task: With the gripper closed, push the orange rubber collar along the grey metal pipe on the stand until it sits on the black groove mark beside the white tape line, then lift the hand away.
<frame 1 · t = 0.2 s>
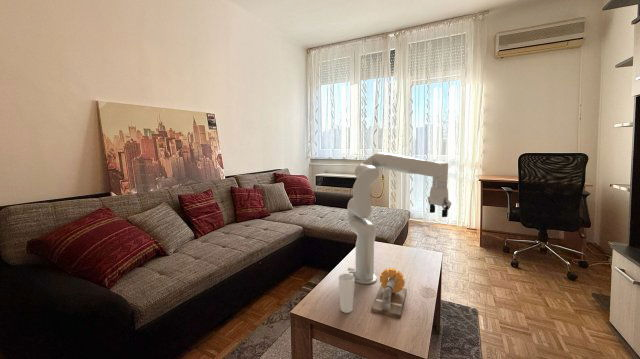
hand: (438, 214, 155), 31 cm above the table, tool pointing down, fingers open, 9 cm apart
collar: (392, 280, 129), point 8 cm above the table, slide at 0.0 cm
pipe stand: (389, 301, 126), on the table
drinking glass: (346, 310, 120), on the table
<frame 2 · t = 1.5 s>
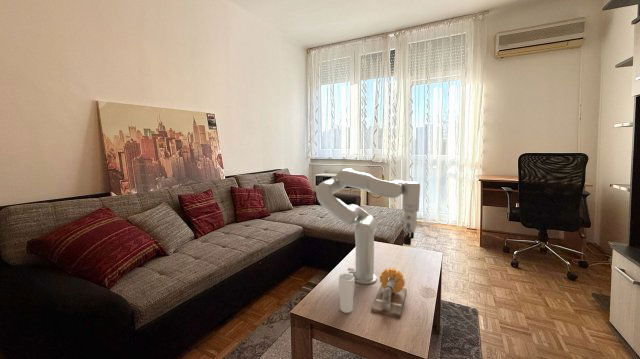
hand: (408, 241, 136), 23 cm above the table, tool pointing down, fingers open, 9 cm apart
nothing on the table moved.
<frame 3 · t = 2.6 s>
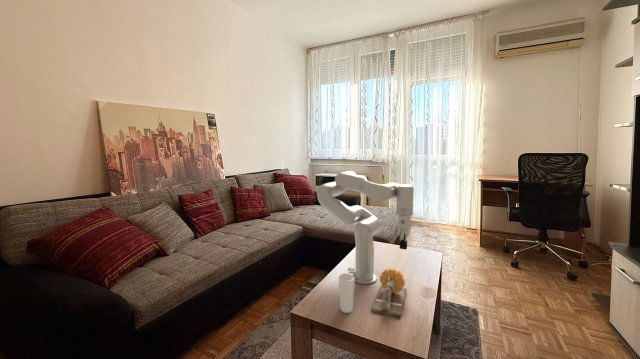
hand: (403, 248, 133), 21 cm above the table, tool pointing down, fingers closed
nothing on the table moved.
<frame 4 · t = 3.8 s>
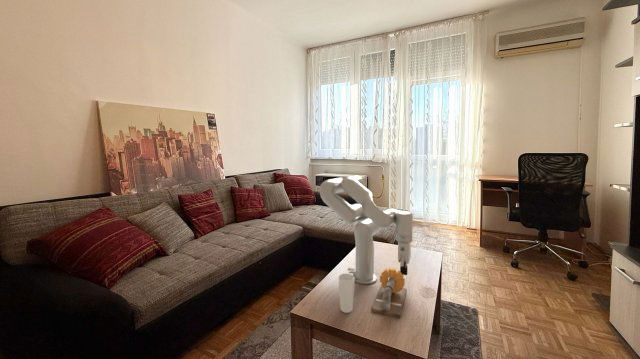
hand: (403, 274, 134), 8 cm above the table, tool pointing down, fingers closed
nothing on the table moved.
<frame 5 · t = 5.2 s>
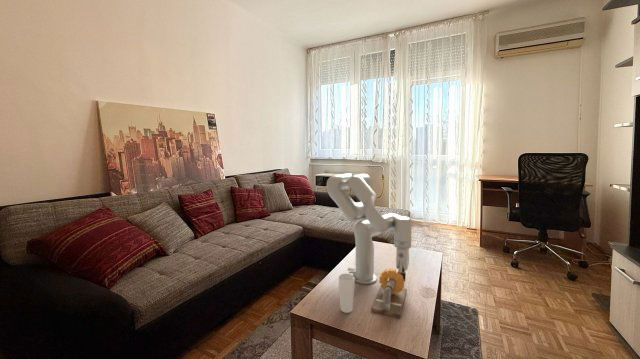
hand: (401, 280, 131), 7 cm above the table, tool pointing down, fingers closed
collar: (391, 281, 129), point 8 cm above the table, slide at 0.9 cm, touching gripper
everything else where it was.
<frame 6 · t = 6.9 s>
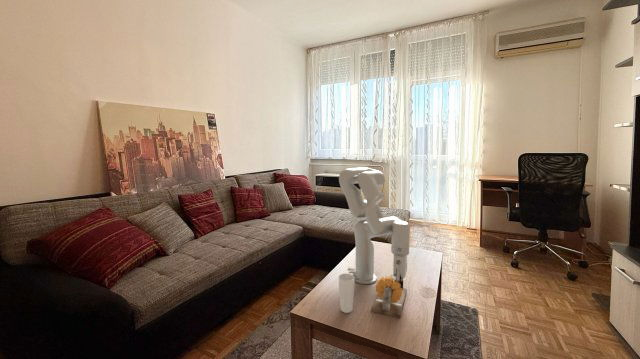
hand: (399, 288, 124), 7 cm above the table, tool pointing down, fingers closed
collar: (388, 289, 121), point 8 cm above the table, slide at 9.0 cm, touching gripper
everything else where it was.
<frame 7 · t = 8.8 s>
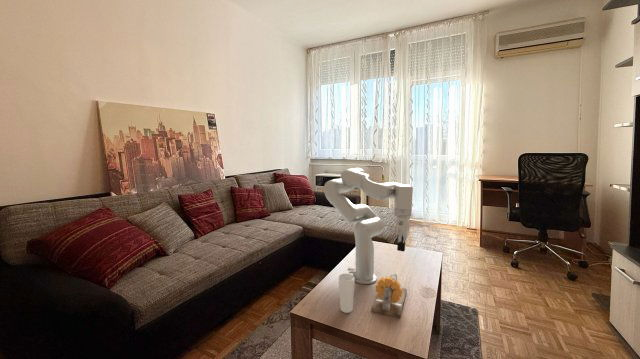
hand: (401, 250, 128), 22 cm above the table, tool pointing down, fingers closed
collar: (388, 289, 121), point 8 cm above the table, slide at 9.2 cm
everything else where it was.
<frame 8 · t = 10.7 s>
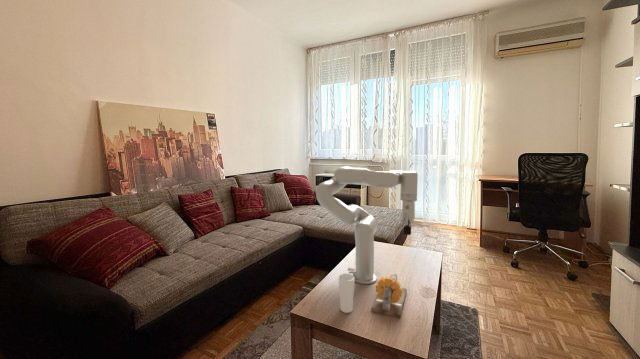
hand: (407, 234, 135), 27 cm above the table, tool pointing down, fingers closed
nothing on the table moved.
at the end: collar slide at 9.2 cm; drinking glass moved 0.2 cm from its start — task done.
